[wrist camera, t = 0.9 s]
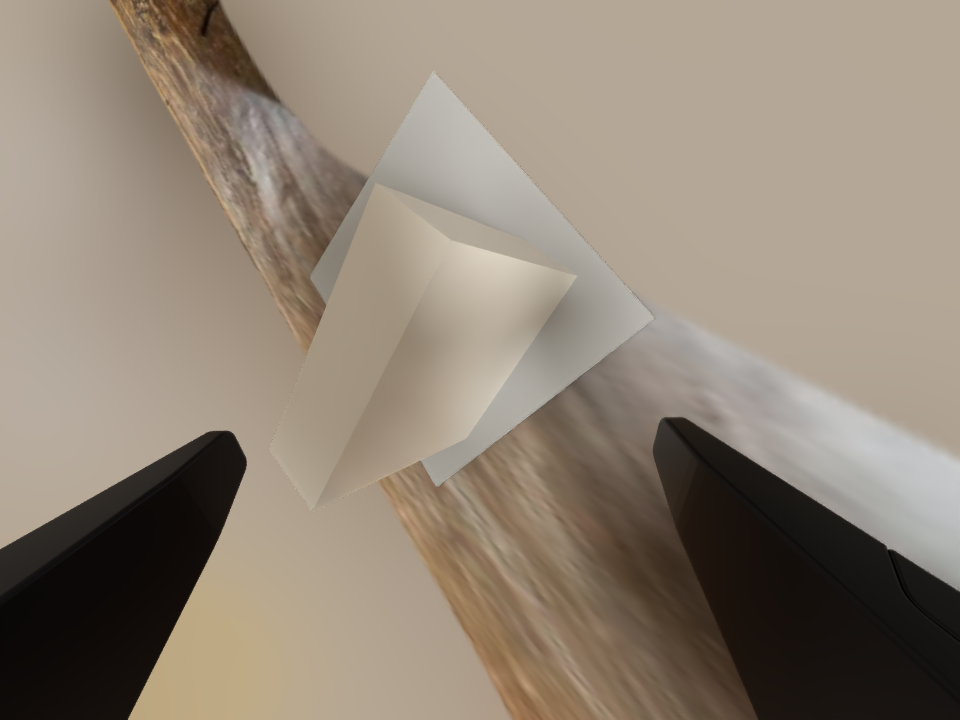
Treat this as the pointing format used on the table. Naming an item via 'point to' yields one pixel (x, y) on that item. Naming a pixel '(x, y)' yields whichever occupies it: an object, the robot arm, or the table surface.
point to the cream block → (410, 344)
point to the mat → (511, 209)
